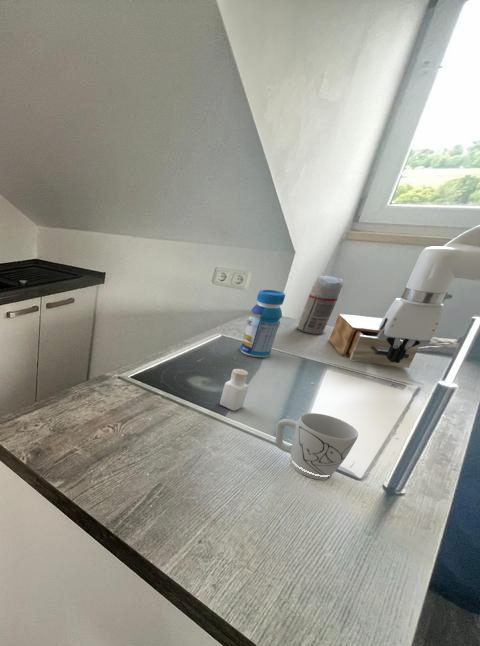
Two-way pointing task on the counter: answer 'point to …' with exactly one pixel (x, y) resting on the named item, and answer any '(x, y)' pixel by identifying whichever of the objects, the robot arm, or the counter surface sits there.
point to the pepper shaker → (235, 390)
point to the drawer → (376, 350)
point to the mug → (317, 443)
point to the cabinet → (351, 330)
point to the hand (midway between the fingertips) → (392, 360)
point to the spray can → (320, 304)
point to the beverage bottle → (263, 324)
